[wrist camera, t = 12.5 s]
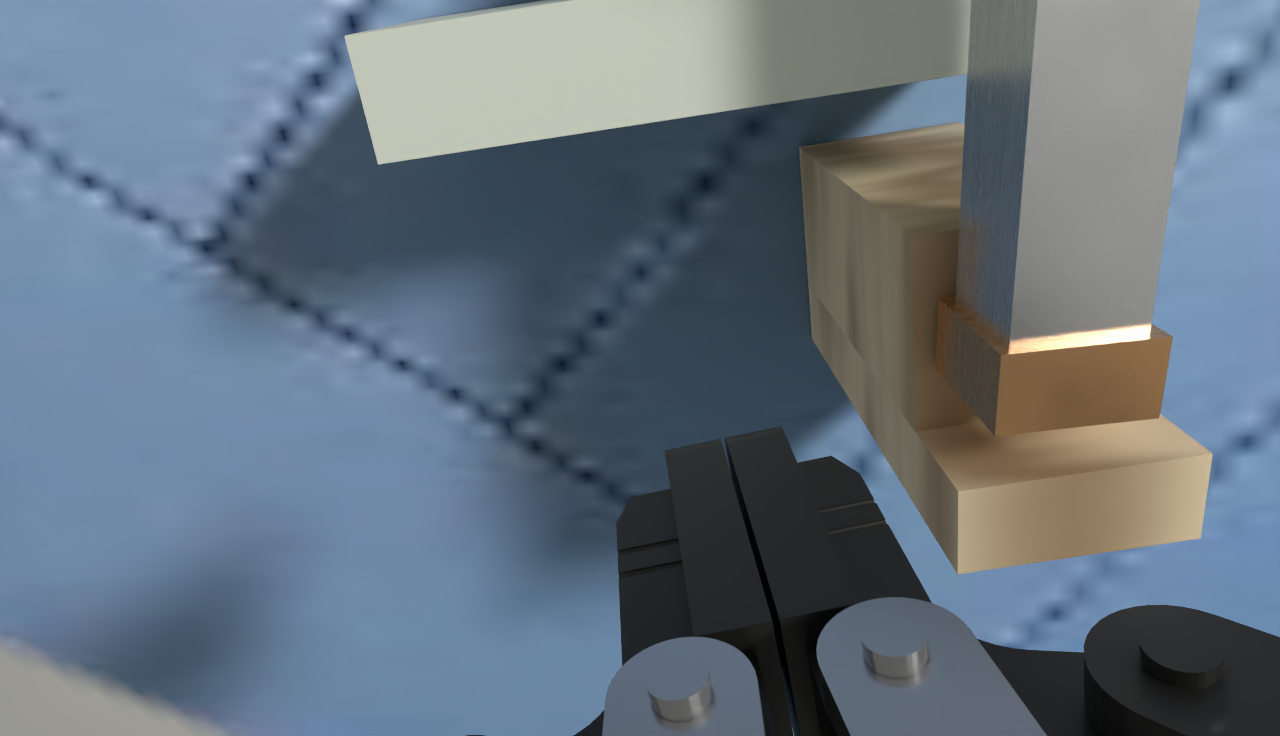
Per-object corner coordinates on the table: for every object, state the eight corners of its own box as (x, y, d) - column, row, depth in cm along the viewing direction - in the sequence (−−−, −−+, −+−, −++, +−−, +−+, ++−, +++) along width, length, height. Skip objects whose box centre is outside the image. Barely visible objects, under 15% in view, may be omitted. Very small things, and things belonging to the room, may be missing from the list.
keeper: (959, 122, 27) (1245, 230, 15) (957, 316, 30) (1200, 538, 18) (799, 146, 27) (960, 273, 15) (811, 338, 30) (957, 573, 18)
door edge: (977, -68, 25) (1166, -93, 17) (976, 25, 26) (1153, 45, 18) (424, 18, 25) (344, 36, 17) (445, 107, 26) (378, 164, 18)
